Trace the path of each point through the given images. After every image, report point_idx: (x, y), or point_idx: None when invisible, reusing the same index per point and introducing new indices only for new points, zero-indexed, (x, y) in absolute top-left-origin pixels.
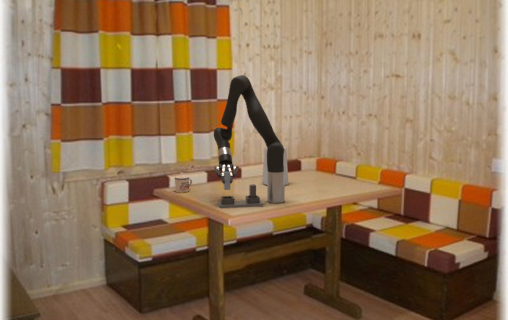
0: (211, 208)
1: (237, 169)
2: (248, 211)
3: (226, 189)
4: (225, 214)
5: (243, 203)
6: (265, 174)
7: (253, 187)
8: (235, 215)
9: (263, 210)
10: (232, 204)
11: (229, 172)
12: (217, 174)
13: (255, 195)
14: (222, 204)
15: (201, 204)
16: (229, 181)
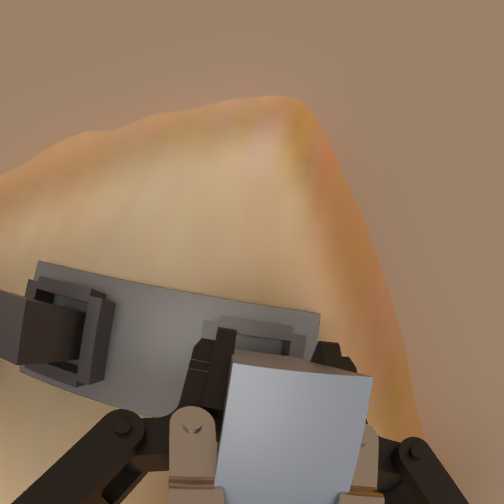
0: (361, 320)
1: (25, 499)
2: (167, 177)
3: (273, 354)
4: (310, 158)
5: (140, 314)
6: None
7: (14, 294)
8: (264, 125)
9: (86, 176)
10: (223, 311)
11: (254, 372)
12: (410, 499)
13: (38, 300)
14: (292, 333)
15: (389, 437)
16: (244, 354)
